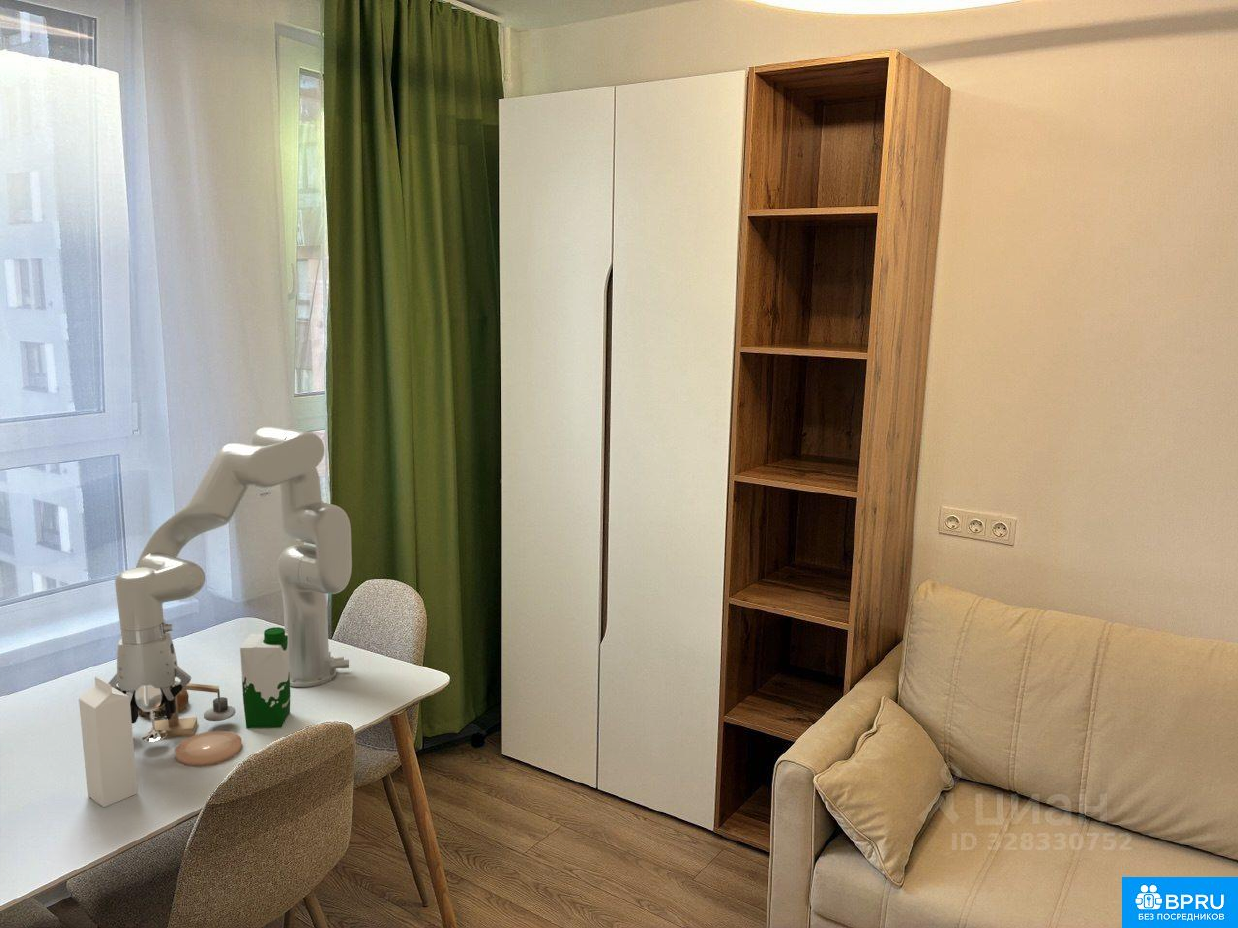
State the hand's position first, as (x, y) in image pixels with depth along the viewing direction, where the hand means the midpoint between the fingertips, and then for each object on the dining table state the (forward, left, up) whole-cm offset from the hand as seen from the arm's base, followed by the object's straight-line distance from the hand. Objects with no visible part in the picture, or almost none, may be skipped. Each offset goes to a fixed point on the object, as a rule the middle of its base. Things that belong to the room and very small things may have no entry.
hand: (152, 717), depth 183 cm
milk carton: (-20, -7, -7) cm, 23 cm away
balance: (-2, -6, -7) cm, 9 cm away
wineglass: (0, 0, -4) cm, 4 cm away
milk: (+4, +17, -7) cm, 18 cm away
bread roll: (+2, -18, -7) cm, 19 cm away
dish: (-10, +4, -7) cm, 13 cm away
